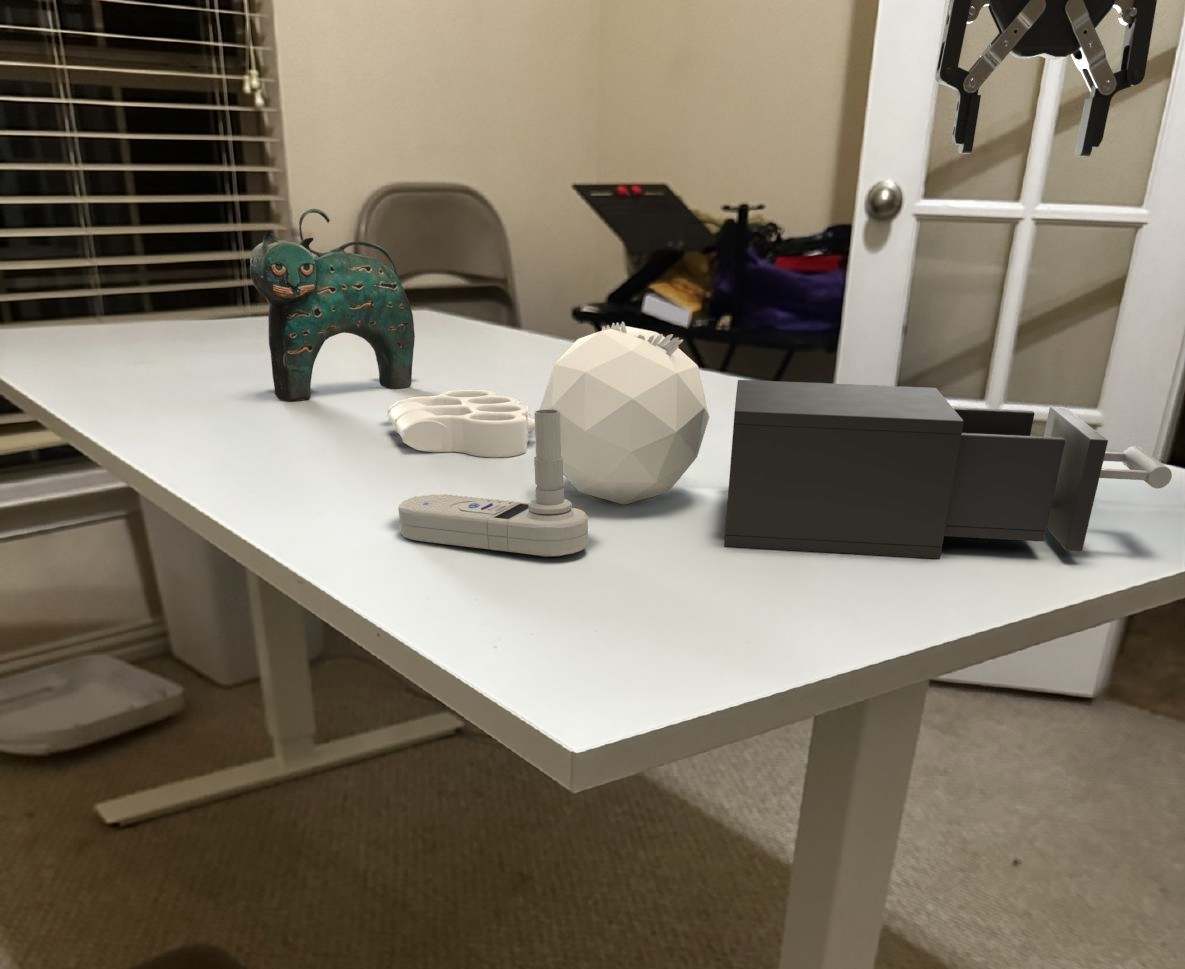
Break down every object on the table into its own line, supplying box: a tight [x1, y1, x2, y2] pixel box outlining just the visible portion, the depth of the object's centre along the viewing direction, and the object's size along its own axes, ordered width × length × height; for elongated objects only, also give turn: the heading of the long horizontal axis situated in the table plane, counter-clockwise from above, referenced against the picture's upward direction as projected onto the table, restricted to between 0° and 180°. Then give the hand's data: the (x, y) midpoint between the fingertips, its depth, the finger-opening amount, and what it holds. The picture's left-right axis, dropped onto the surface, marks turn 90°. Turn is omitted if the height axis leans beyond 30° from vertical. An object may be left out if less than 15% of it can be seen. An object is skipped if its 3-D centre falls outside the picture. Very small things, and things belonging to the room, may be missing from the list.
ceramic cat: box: [249, 208, 416, 402], centre depth 133 cm, size 20×6×20 cm, turn 132°
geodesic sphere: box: [538, 321, 710, 506], centre depth 93 cm, size 15×14×14 cm
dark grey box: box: [723, 379, 964, 560], centre depth 87 cm, size 16×14×10 cm
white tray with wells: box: [387, 389, 535, 458], centre depth 115 cm, size 3×18×15 cm
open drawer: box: [944, 406, 1173, 552], centre depth 86 cm, size 20×13×8 cm, turn 83°
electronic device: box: [397, 409, 589, 558], centre depth 82 cm, size 5×10×15 cm
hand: (1023, 154), depth 84 cm, fingers open, 8 cm apart
